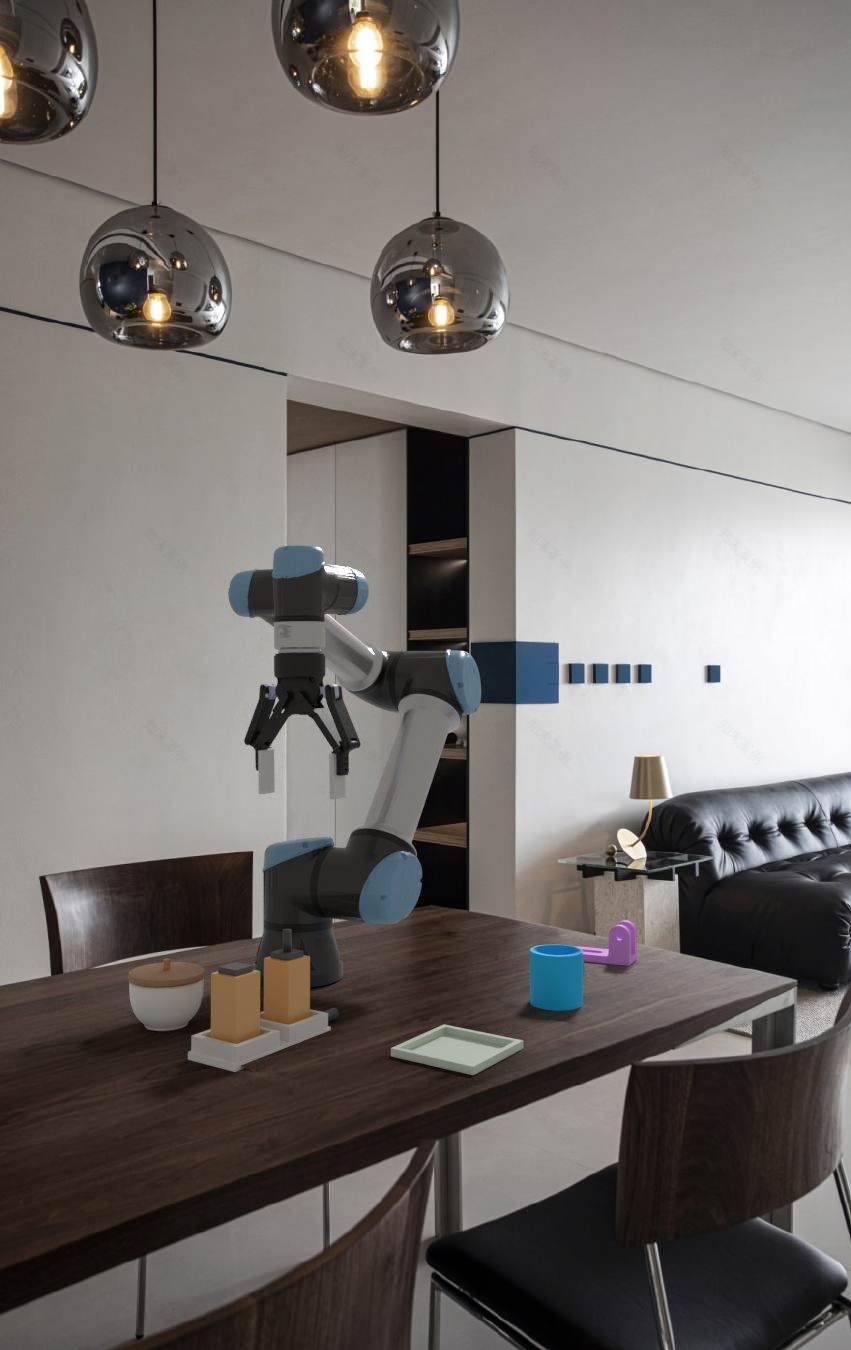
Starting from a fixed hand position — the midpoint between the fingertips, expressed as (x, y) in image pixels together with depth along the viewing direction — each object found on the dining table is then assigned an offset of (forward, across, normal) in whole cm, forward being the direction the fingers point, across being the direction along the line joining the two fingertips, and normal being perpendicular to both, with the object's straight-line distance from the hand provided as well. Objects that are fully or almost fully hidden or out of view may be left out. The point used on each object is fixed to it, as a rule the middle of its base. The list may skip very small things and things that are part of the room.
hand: (301, 795), depth 162 cm
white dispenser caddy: (+32, +4, -11) cm, 34 cm away
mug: (+34, +28, +30) cm, 53 cm away
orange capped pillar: (+31, +4, -19) cm, 37 cm away
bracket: (+35, +20, +58) cm, 70 cm away
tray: (+32, +28, -2) cm, 43 cm away
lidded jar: (+32, -14, -14) cm, 38 cm away
